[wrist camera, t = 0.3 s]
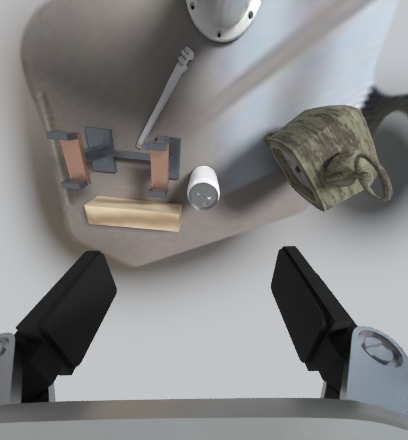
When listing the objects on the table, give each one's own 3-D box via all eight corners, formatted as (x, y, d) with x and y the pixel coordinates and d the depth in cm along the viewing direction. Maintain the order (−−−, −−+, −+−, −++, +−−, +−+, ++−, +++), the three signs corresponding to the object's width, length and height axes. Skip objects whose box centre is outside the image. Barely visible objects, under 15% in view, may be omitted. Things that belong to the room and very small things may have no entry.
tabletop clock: (256, 135, 39) (324, 154, 17) (295, 104, 36) (435, 80, 14) (286, 184, 44) (365, 246, 23) (321, 161, 42) (451, 206, 20)
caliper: (189, 53, 32) (187, 39, 27) (194, 58, 33) (192, 45, 27) (136, 146, 40) (125, 150, 35) (140, 149, 41) (130, 154, 35)
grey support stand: (87, 127, 38) (38, 130, 27) (180, 138, 39) (171, 145, 28) (95, 169, 42) (56, 187, 31) (179, 178, 44) (170, 198, 32)
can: (200, 195, 46) (199, 218, 35) (185, 175, 43) (179, 193, 33) (221, 181, 44) (227, 200, 34) (206, 159, 41) (207, 173, 31)
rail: (97, 195, 46) (84, 205, 41) (182, 203, 47) (179, 214, 42) (101, 212, 49) (88, 223, 43) (181, 219, 50) (178, 231, 44)
